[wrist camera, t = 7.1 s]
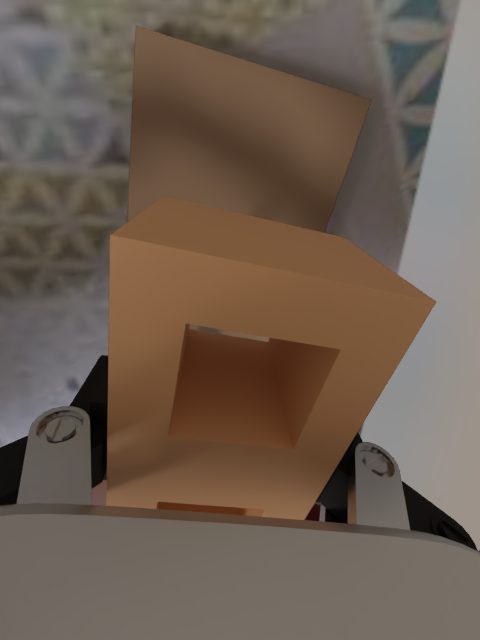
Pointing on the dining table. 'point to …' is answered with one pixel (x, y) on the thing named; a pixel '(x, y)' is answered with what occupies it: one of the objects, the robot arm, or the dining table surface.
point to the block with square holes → (242, 358)
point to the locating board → (236, 136)
